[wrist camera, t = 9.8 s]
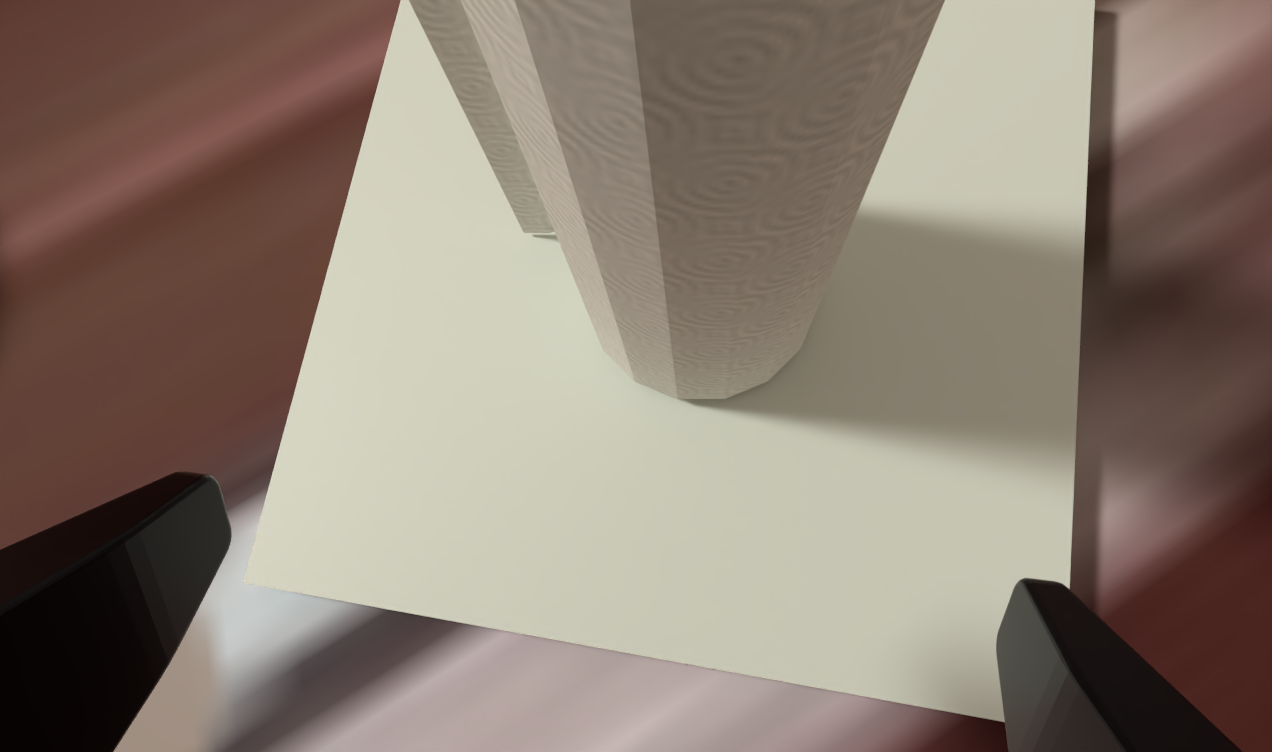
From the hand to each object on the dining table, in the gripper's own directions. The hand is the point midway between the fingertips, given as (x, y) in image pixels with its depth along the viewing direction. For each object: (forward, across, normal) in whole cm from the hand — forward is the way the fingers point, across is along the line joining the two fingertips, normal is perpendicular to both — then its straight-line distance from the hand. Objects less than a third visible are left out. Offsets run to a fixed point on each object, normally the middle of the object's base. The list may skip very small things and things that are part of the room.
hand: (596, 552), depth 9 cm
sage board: (+15, 0, +3) cm, 15 cm away
